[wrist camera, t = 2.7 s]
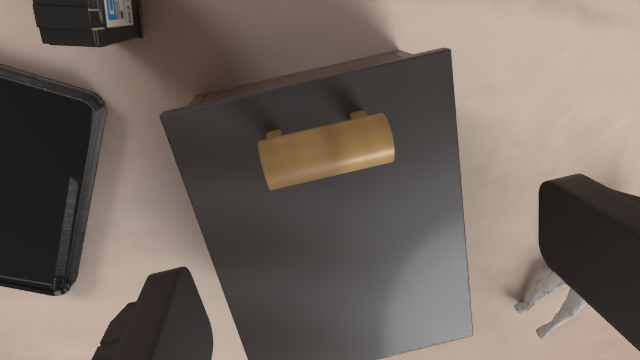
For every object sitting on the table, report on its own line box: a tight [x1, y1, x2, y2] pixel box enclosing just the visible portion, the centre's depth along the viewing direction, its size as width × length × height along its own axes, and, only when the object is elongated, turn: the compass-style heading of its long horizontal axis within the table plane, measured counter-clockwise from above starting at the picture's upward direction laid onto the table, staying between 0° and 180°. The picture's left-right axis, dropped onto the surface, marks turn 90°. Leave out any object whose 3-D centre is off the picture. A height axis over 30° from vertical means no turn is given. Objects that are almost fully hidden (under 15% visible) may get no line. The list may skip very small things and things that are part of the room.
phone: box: [0, 64, 106, 296], centre depth 27 cm, size 8×1×15 cm
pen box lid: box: [160, 48, 473, 360], centre depth 21 cm, size 17×14×5 cm
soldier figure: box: [514, 271, 586, 340], centre depth 34 cm, size 8×5×12 cm
